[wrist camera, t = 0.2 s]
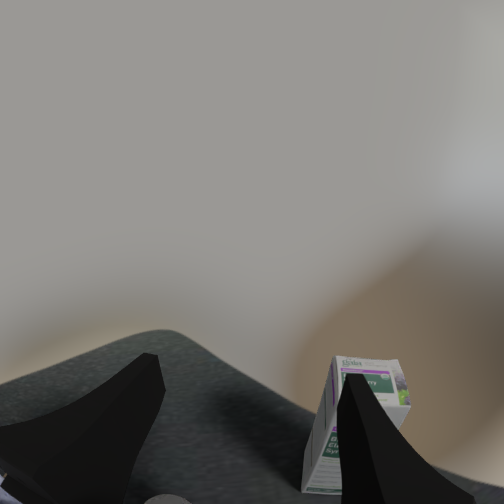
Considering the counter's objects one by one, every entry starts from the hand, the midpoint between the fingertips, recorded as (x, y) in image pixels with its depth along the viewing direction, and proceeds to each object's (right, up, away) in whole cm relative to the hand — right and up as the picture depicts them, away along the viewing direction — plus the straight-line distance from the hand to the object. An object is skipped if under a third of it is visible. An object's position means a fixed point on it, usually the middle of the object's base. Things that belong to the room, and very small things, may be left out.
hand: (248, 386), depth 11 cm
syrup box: (+8, -18, +15) cm, 25 cm away
